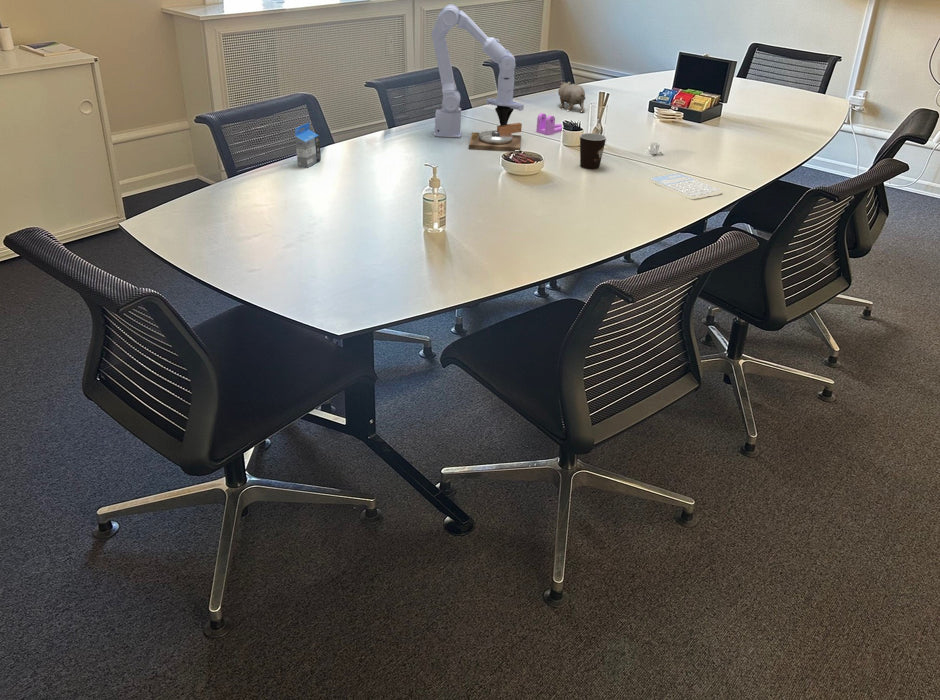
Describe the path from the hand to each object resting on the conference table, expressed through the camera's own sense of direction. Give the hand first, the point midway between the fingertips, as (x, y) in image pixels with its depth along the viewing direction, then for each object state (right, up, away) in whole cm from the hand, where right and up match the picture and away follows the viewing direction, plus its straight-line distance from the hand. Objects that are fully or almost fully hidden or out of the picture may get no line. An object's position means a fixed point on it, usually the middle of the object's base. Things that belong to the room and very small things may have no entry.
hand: (503, 127), depth 299 cm
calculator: (+56, -31, -40) cm, 75 cm away
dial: (-1, -6, -6) cm, 8 cm away
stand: (-3, -8, -6) cm, 10 cm away
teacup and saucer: (+56, -12, -8) cm, 58 cm away
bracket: (+19, +2, +13) cm, 23 cm away
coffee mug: (+29, -20, -24) cm, 43 cm away
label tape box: (-65, -21, -34) cm, 76 cm away
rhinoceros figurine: (+30, +20, +45) cm, 58 cm away
